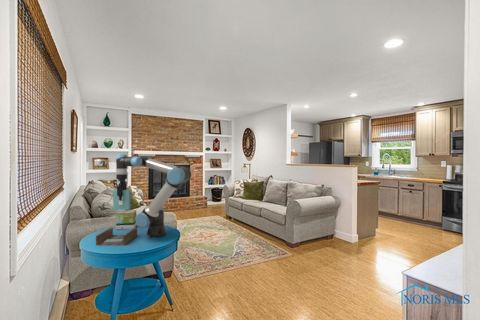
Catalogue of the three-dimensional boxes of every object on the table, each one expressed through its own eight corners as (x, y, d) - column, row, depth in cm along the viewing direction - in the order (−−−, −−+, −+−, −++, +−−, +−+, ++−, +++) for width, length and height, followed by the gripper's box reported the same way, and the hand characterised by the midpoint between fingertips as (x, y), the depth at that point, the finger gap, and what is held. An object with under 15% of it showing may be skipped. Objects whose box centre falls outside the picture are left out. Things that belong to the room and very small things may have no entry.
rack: (137, 237, 190) (137, 227, 190) (124, 247, 169) (124, 235, 169) (111, 237, 190) (111, 227, 190) (95, 247, 170) (95, 235, 169)
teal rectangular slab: (130, 208, 189) (130, 189, 189) (129, 209, 186) (128, 190, 186) (115, 209, 189) (115, 189, 189) (113, 209, 186) (113, 190, 186)
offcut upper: (124, 241, 177) (124, 238, 177) (121, 244, 172) (121, 241, 172) (107, 242, 176) (107, 239, 176) (103, 244, 171) (103, 241, 171)
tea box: (115, 229, 210) (115, 213, 210) (119, 226, 220) (118, 210, 220) (134, 228, 213) (133, 212, 213) (136, 225, 223) (136, 209, 223)
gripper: (121, 173, 195) (122, 202, 195) (111, 174, 179) (111, 206, 179) (131, 173, 195) (131, 202, 195) (121, 174, 179) (122, 206, 179)
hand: (122, 204), depth 187 cm, fingers closed on teal rectangular slab, 3 cm apart
